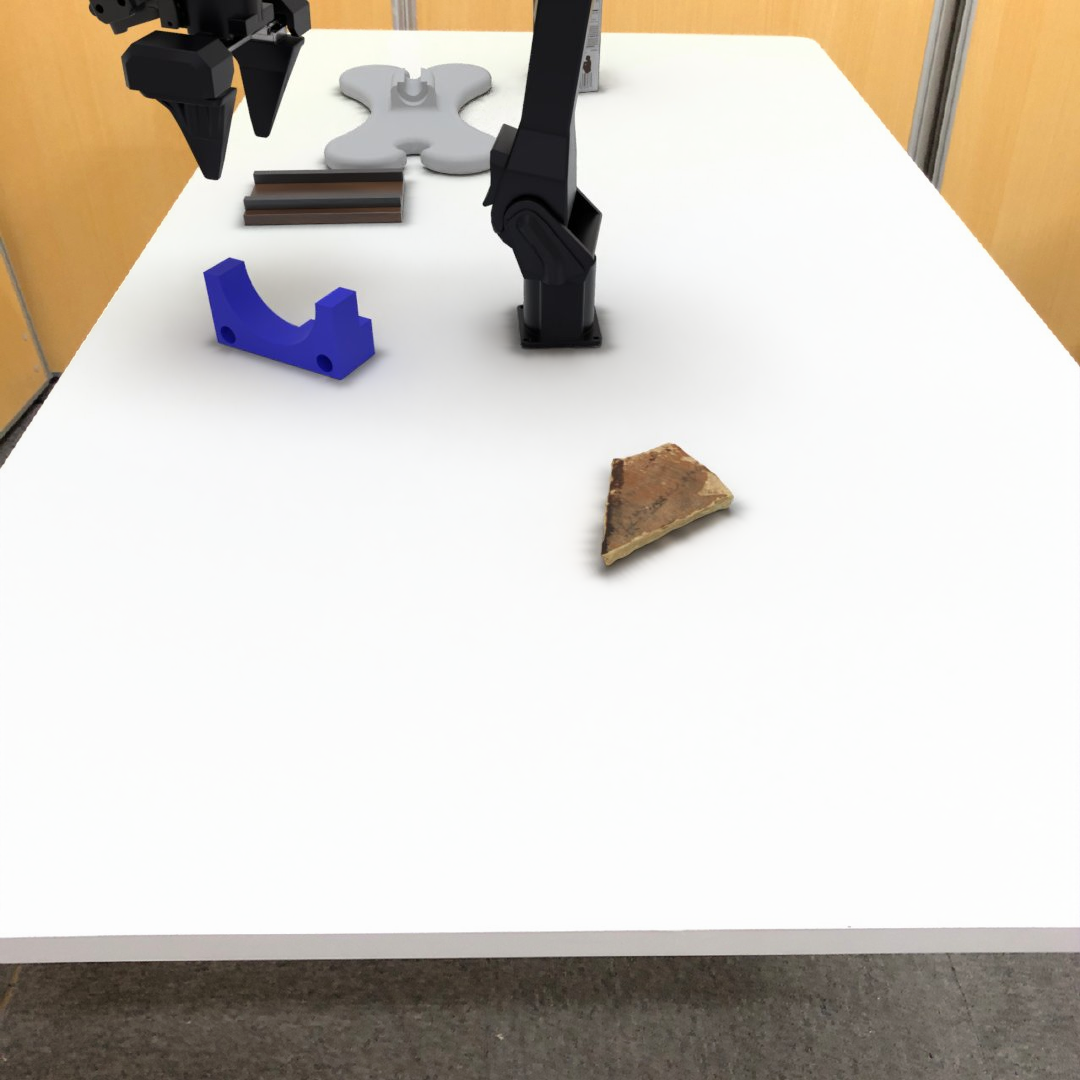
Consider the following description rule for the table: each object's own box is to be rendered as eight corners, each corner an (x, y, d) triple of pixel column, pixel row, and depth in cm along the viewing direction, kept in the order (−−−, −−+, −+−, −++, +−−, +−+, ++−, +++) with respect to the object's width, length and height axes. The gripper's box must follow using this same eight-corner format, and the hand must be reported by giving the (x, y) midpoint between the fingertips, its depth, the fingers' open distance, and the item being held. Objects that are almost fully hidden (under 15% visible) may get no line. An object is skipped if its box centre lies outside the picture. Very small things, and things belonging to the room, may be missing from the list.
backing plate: (401, 222, 103) (400, 201, 101) (244, 225, 102) (241, 204, 100) (404, 182, 110) (403, 163, 109) (259, 185, 109) (255, 166, 108)
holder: (490, 77, 138) (489, 36, 135) (504, 175, 112) (503, 127, 109) (342, 80, 137) (338, 38, 134) (322, 179, 111) (316, 131, 108)
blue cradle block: (375, 353, 83) (367, 283, 79) (341, 379, 80) (331, 308, 76) (254, 318, 87) (241, 249, 84) (217, 342, 84) (203, 272, 81)
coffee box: (530, 74, 139) (531, -65, 129) (577, 70, 141) (581, -68, 130) (552, 95, 133) (554, -50, 122) (600, 91, 134) (606, -53, 124)
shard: (600, 573, 63) (601, 551, 62) (529, 508, 68) (529, 485, 67) (736, 511, 68) (739, 489, 67) (660, 454, 73) (663, 432, 72)
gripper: (162, -112, 78) (192, 105, 89) (19, -63, 64) (75, 188, 74) (305, -95, 77) (320, 122, 87) (192, -42, 63) (225, 210, 73)
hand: (238, 156), depth 81 cm, fingers open, 9 cm apart
